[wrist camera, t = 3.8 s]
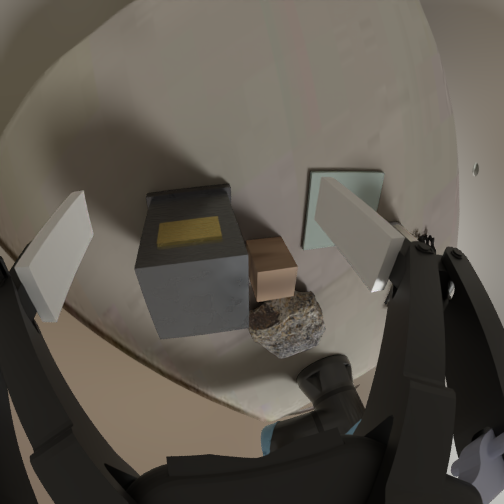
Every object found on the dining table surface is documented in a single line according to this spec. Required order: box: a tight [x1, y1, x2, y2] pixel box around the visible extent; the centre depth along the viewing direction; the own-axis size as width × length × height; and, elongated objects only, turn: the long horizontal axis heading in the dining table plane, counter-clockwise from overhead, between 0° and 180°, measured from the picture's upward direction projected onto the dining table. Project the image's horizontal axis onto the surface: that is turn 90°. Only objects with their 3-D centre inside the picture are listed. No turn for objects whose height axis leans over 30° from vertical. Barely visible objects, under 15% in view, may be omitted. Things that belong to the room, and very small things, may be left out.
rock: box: [249, 291, 326, 358], centre depth 46 cm, size 13×6×15 cm
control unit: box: [134, 184, 249, 339], centre depth 29 cm, size 10×10×14 cm
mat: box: [302, 171, 385, 250], centre depth 38 cm, size 12×12×1 cm
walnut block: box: [246, 237, 298, 302], centre depth 37 cm, size 5×5×7 cm
